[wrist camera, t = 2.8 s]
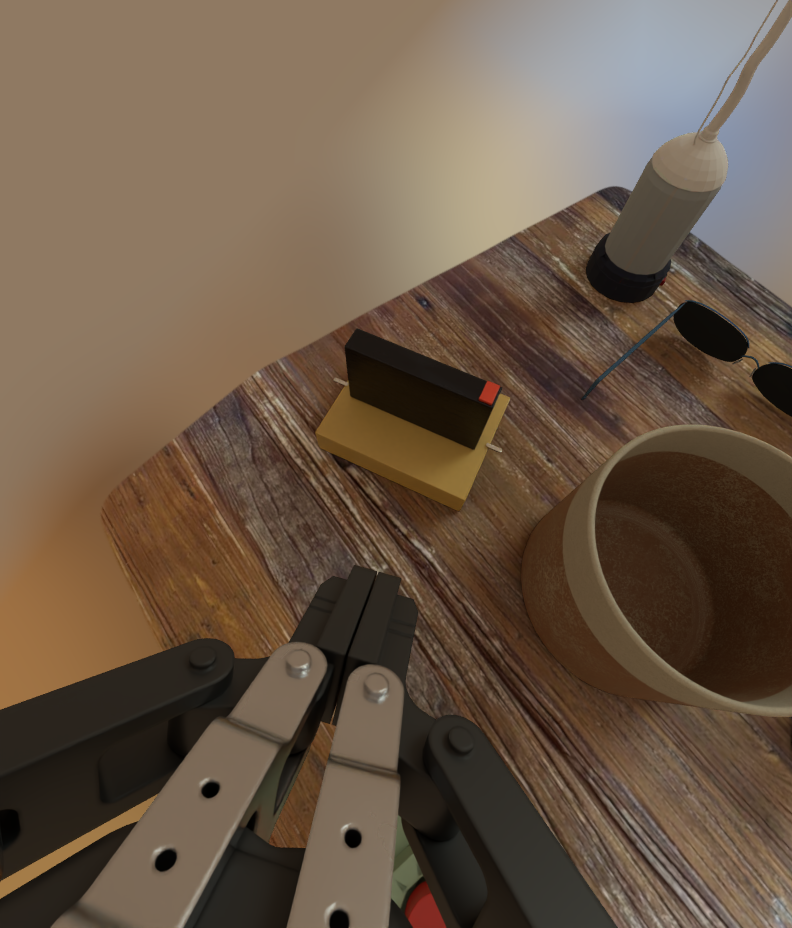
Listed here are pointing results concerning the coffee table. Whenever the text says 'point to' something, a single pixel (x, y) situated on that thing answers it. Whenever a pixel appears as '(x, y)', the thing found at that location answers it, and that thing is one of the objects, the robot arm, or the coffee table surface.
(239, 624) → the coffee table surface
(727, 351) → the sunglasses
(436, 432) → the block
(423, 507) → the coffee table surface
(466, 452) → the plate
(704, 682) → the planter
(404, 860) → the button block
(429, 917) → the button
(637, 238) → the humidifier
